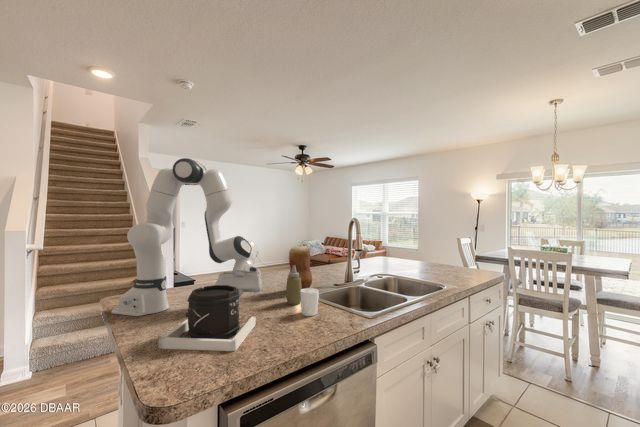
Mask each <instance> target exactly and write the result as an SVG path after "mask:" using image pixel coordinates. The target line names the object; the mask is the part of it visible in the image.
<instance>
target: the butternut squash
mask: <svg viewBox="0 0 640 427" xmlns="http://www.w3.org/2000/svg"><path fill="white" fill-rule="evenodd" d="M310 253H311V252H310V249H309V248H308V247H307V246H306V245H298V246H294V247H292V248H290V250H289V255H288V260H289V262H288V263H289V267H290V270H289V272H288V275H287V278H286V280H287V279H288V278H289V273H291V272H292V267H293V265H295V267H296V271H297V273H299V277H300V278H301V286H302V289H305V288H311V285H312V283H313V276H312V275H313V274H312V271H311V256H310V255H311V254H310Z"/></svg>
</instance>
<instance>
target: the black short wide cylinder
mask: <svg viewBox="0 0 640 427" xmlns="http://www.w3.org/2000/svg"><path fill="white" fill-rule="evenodd" d="M238 298H239V299H240V297H239V291H237V288H236V287H233V286H229V285H215V284H213V285H206V286H203V287H201V286H200V287H198V288H196V289H195V288H194V289H193V290H192V291H191V292H190V295H189V296H188V299H187V302H188V308H187V309H188V310H187V311H186V312H185V318H187V319H188V327H189V329H188V330H187V331H186V332H187V335H188V336H189V338H202V339H231V338H234V337H235V336H236V335H237V333H238V332H239V331H240V321H239V319H240V303H239V302H240V301H239V300H238Z"/></svg>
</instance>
